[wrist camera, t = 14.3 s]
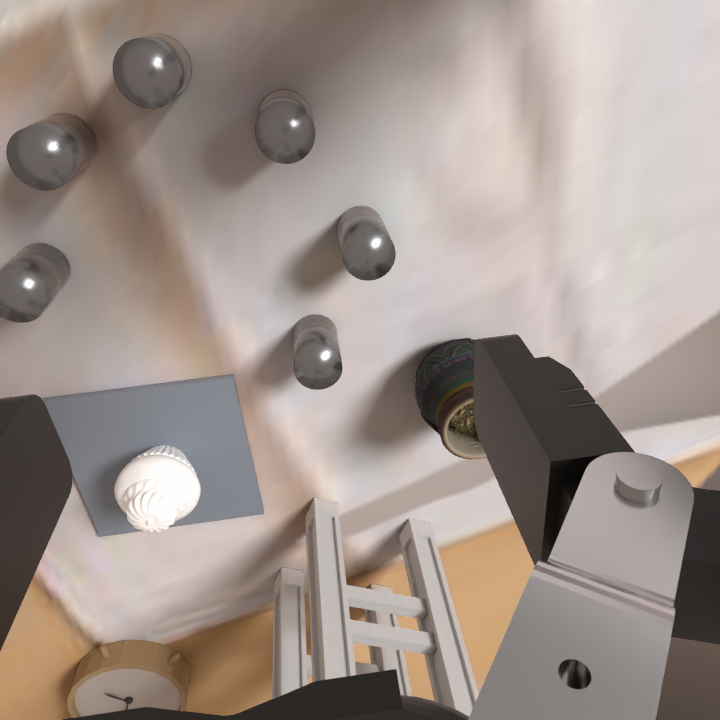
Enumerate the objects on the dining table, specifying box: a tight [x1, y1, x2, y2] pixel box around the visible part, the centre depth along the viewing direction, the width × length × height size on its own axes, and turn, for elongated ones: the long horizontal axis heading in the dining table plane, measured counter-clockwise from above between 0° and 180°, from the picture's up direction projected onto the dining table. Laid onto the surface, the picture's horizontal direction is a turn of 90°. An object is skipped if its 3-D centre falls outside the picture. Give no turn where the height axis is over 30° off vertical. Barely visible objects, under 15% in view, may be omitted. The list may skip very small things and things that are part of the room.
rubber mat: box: [43, 374, 264, 537], centre depth 48 cm, size 14×14×1 cm
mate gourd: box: [415, 338, 487, 459], centre depth 43 cm, size 7×8×10 cm
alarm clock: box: [67, 640, 190, 718], centre depth 61 cm, size 11×5×15 cm
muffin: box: [114, 445, 201, 533], centre depth 45 cm, size 6×6×7 cm
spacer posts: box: [0, 34, 395, 390], centre depth 37 cm, size 24×22×5 cm
